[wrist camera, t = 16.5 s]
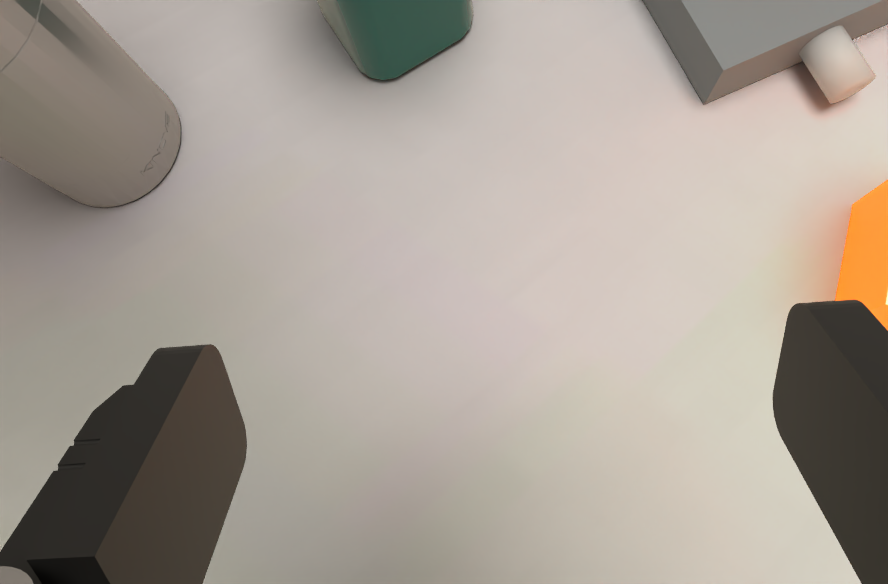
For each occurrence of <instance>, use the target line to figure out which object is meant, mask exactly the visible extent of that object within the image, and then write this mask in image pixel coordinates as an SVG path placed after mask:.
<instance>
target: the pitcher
mask: <svg viewBox="0 0 888 584" xmlns="http://www.w3.org/2000/svg"><path fill="white" fill-rule="evenodd" d="M317 2H318V4H319V7H320V9H321V11H322V14H323V16H324V17H325V19H326V20H327V22H328V23H329V25H330V26H331V28H332V29H333V31H334V32H335V34H336V35H337V37H338V38H339V40H340V41H341V43H342V44H343V46H344V47H345V49H346V50H347V52H348V54H349V55H350V57H351V58H352V60H353V61H354V63H355V64H356V66H357V67H358V69H359V70H360V71H361V72H362V73H364V74H366V75H367V76H369V77H370V78H374V79H380V80H388V79H393V78H397V77H399V76H400V75H402V74H404V73H405V72H407V71H409V70H410V69H412V68H414V67H415V66H417V65H419V64H420V63H422V62H424V61H425V60H427V59H429V58H430V57H432V56H434V55H435V54H437V53H439V52H440V51H442V50H444V49H445V48H447V47H449V46H450V45H452V44H454V43H455V42H457V41H459V40H460V39H462V38H463V36H464V35H465V34H466V32H467V31H468V30H469V28H470V26H471V22H472V18H473V6H472V0H317Z"/></svg>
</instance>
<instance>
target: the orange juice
mask: <svg viewBox="0 0 888 584" xmlns="http://www.w3.org/2000/svg"><path fill="white" fill-rule="evenodd" d="M853 299H855V300H859V301H860V302H862V303H863V304H864V305H865V306H866V307H867V308H868V309H869V310H870V311H871V312H872V314H873V315H874V316H875V317H876V318H877V319H878V320H879V321H880V322H881V324H882V325H883V326H884V327H885V328H886V329H887V330H888V180H886V181H885V182H884V183H882V184H881V185H879V186H878V187H877V188H875V189H874V190H872V191H871V192H870V193H868V194H867V195H865V196H864V197H862V198H861V199H860V200H858V201H857V202H855V203H854V204H853V205H852V210H851V216H850V221H849V227H848V232H847V238H846V243H845V249H844V254H843V260H842V265H841V270H840V276H839V281H838V287H837V292H836V298H835V301H840V300H853Z"/></svg>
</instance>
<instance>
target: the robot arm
mask: <svg viewBox="0 0 888 584" xmlns="http://www.w3.org/2000/svg"><path fill="white" fill-rule="evenodd" d="M180 137H181V127H180V121H179V116H178V114H177V111H176V109H175V107H174V104H173V103H172V102H171V100H170V99H169V98H168V96H167V95H166V94H165V93H164V92H163V91H162V90H161V89H160V88H159V87H158V86H157V85H156V84H155V82H154V81H153V80H152V79H151V78H150V77H149V76H148V75H147V74H146V73H145V72H144V71H143V70H142V69H141V68H140V67H139V66H138V64H137V63H136V62H135V61H134V60H133V59H132V58H131V57H130V56H129V55H128V54H127V53H126V52H125V51H124V50H123V49H122V48H121V47H120V45H119V44H118V43H117V42H116V41H115V40H114V39H113V38H112V37H111V36H110V35H109V34H108V33H107V32H106V31H105V30H104V29H103V28H102V27H101V26H100V25H99V24H98V23H97V22H96V20H95V19H94V18H93V17H92V16H91V15H90V14H89V13H88V12H87V11H86V10H85V9H84V8H83V7H82V6H81V5H80V4H79V3H78V2H77V1H76V0H0V157H1V158H3V159H5V160H7V161H8V162H10V163H12V164H13V165H15V166H17V167H19V168H20V169H22V170H24V171H26V172H27V173H29V174H31V175H32V176H34V177H35V178H37V179H39V180H41V181H42V182H44V183H46V184H48V185H49V186H51V187H53V188H55V189H56V190H58V191H60V192H62V193H63V194H65V195H67V196H69V197H70V198H72V199H74V200H76V201H78V202H79V203H83V204H86V205H89V206H94V207H112V206H119V205H123V204H126V203H129V202H132V201H134V200H136V199H138V198H140V197H142V196H143V195H145V194H147V193H148V192H150V191H151V190H152V189H153V188H154V187H155V186H156V185H158V184H159V183H160V182H161V181H162V179H163V178H164V177H165V175H166V174H167V173H168V172H169V170H170V168H171V167H172V165H173V163H174V161H175V159H176V156H177V153H178V149H179V146H180ZM773 410H774V417H775V421H776V425H777V428H778V431H779V433H780V436H781V438H782V440H783V441H784V443H785V445H786V447H787V449H788V451H789V452H790V454H791V456H792V458H793V460H794V461H795V463H796V465H797V467H798V469H799V471H800V472H801V474H802V476H803V478H804V480H805V481H806V483H807V485H808V487H809V489H810V490H811V492H812V494H813V496H814V498H815V500H816V501H817V503H818V505H819V507H820V509H821V510H822V512H823V514H824V516H825V518H826V520H827V521H828V523H829V525H830V527H831V529H832V530H833V532H834V534H835V536H836V538H837V540H838V541H839V543H840V545H841V547H842V549H843V550H844V552H845V554H846V556H847V558H848V560H849V561H850V563H851V565H852V567H853V569H854V570H855V572H856V574H857V576H858V578H859V579H860V581H861V583H862V584H888V330H887V329H886V328H885V327H884V326H883V325H882V324H881V322H880V321H879V320H878V319H877V318H876V317H875V316H874V315H873V314H872V312H871V311H870V310H869V309H868V308H867V307H866V306H865V305H864V304H863V303H862V302H860V301H859V300H855V299H853V300H840V301H826V302H812V303H798V304H795V305H794V306H793V307H792V308H791V310H790V312H789V314H788V318H787V322H786V327H785V333H784V338H783V343H782V348H781V353H780V359H779V364H778V369H777V374H776V379H775V385H774V390H773ZM246 449H247V440H246V430H245V425H244V422H243V419H242V416H241V413H240V410H239V407H238V404H237V401H236V398H235V395H234V392H233V389H232V386H231V383H230V380H229V377H228V374H227V372H226V369H225V366H224V363H223V360H222V357H221V355H220V353H219V351H218V349H217V348H216V347H215V346H214V345H211V344H210V345H196V346H182V347H169V348H159V349H157V350H156V351H155V352H154V353H153V355H152V356H151V358H150V359H149V361H148V363H147V364H146V366H145V367H144V369H143V371H142V372H141V374H140V376H139V377H138V379H137V380H136V382H135V384H134V385H125V386H122V387H121V388H120V389H119V390H118V391H116V392H115V393H114V394H113V395H112V396H110V397H109V398H108V399H107V400H106V401H105V402H103V403H102V404H101V405H100V406H99V407H97V408H96V409H95V410H94V411H93V412H92V413H91V415H90V416H89V418H88V420H87V421H86V423H85V424H84V426H83V427H82V429H81V430H80V432H79V433H78V435H77V436H76V438H75V439H74V446H70V447H69V448H68V450H67V451H66V453H65V454H64V456H63V457H62V459H61V460H60V462H59V464H58V471H53V473H52V474H51V476H50V477H49V479H48V480H47V482H46V483H45V485H44V486H43V488H42V489H41V491H40V492H39V494H38V495H37V497H36V498H35V500H34V501H33V503H32V504H31V506H30V508H29V509H28V511H27V512H26V514H25V515H24V517H23V518H22V520H21V521H20V523H19V524H18V526H17V527H16V529H15V530H14V532H13V533H12V535H11V536H10V538H9V539H8V541H7V542H6V544H5V545H4V547H3V548H2V550H1V552H0V584H202V583H203V580H204V578H205V575H206V572H207V569H208V566H209V563H210V561H211V558H212V555H213V552H214V549H215V546H216V544H217V541H218V538H219V535H220V532H221V530H222V527H223V524H224V521H225V518H226V515H227V513H228V510H229V507H230V504H231V501H232V498H233V496H234V493H235V490H236V487H237V484H238V481H239V479H240V476H241V473H242V470H243V467H244V463H245V458H246Z"/></svg>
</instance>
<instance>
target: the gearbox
mask: <svg viewBox="0 0 888 584" xmlns="http://www.w3.org/2000/svg"><path fill="white" fill-rule="evenodd" d="M643 2H644V3H645V5H646V7H647V8H648V10H649V12H650V14H651V15H652V17H653V19H654V20H655V22H656V24H657V26H658V27H659V29H660V31H661V32H662V34H663V36H664V38H665V39H666V41H667V43H668V44H669V46H670V48H671V49H672V51H673V53H674V55H675V56H676V58H677V60H678V61H679V63H680V65H681V67H682V68H683V70H684V72H685V73H686V75H687V77H688V79H689V80H690V82H691V84H692V85H693V87H694V89H695V90H696V92H697V94H698V96H699V97H700V99H701V101H702V102H703V104H707V103H709V102H711V101H713V100H716V99H718V98H720V97H722V96H725V95H727V94H729V93H732V92H734V91H736V90H738V89H741V88H743V87H745V86H747V85H750V84H752V83H754V82H757V81H759V80H761V79H763V78H766V77H768V76H770V75H772V74H775V73H777V72H779V71H782V70H784V69H786V68H788V67H791V66H793V65H795V64H797V63H800V62H802V61H803V62H804V63H805V65H806V66H807V68H808V69H809V71H810V72H811V74H812V76H813V77H814V79H815V80H816V82H817V83H818V85H819V87H820V88H821V90H822V91H823V93H824V94H825V96H826V98H827V99H828V101H829V102H830V103H831V104H832V103H837V102H839V101H842V100H844V99H846V98H848V97H850V96H852V95H853V94H855V93H857V92H858V91H860V90H861V89H863V88H864V87H866V86H867V85H868V84H870V83H871V82H872V81H873V80H874V79H875V77H876V75H875V73H874V72H873V70H872V69H871V67H870V66H869V64H868V63H867V61H866V60H865V58H864V57H863V55H862V54H861V52H860V51H859V49H858V48H857V46H856V45H855V43H854V42H853V40H852V39H854V38H857V37H859V36H861V35H863V34H866V33H868V32H870V31H872V30H875V29H877V28H879V27H882V26H884V25H886V24H888V0H643Z"/></svg>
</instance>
